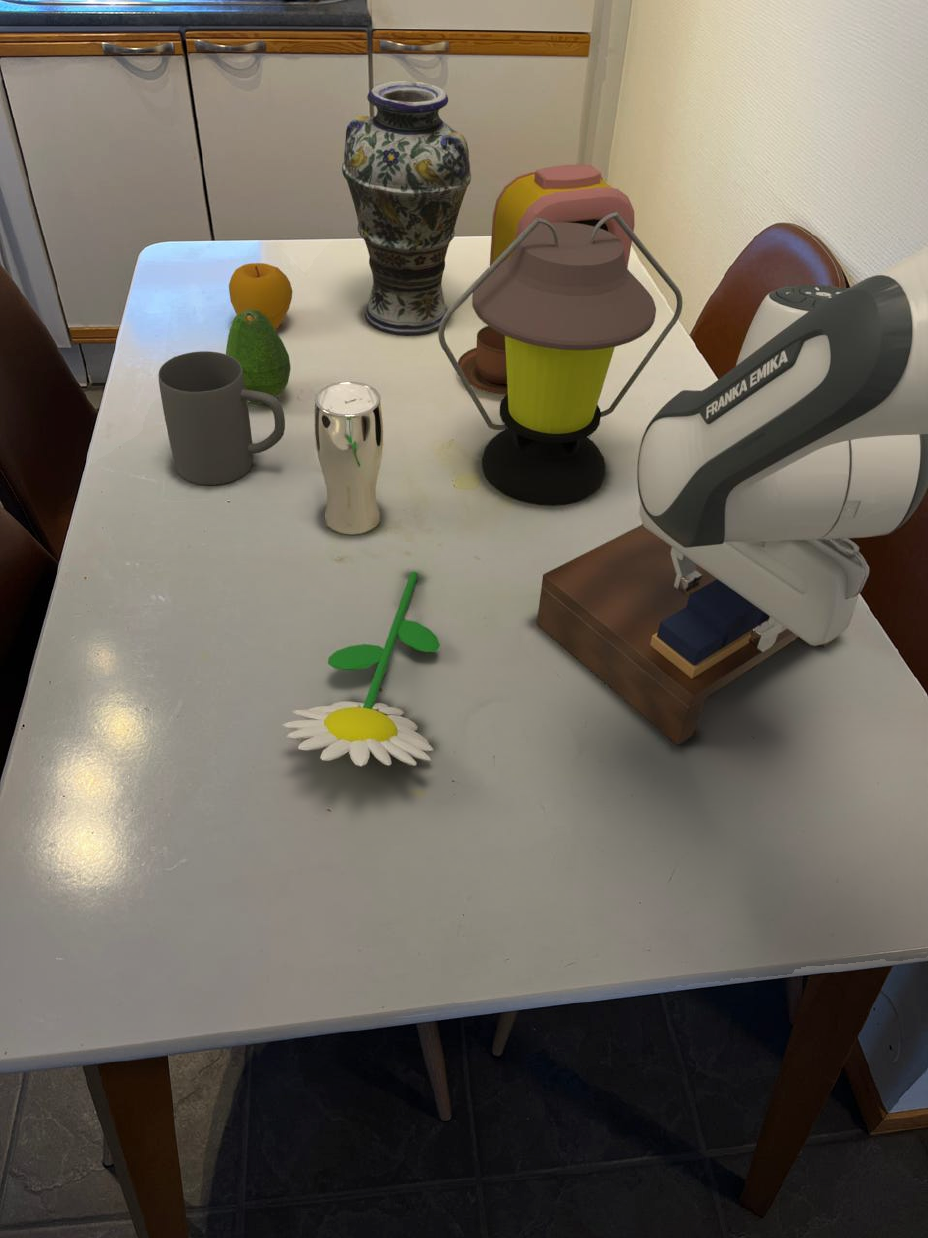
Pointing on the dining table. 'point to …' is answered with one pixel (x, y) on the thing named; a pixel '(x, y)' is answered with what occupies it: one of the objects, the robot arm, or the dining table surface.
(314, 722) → the decorative flower
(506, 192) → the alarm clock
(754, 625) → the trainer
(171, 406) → the mug
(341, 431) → the beer glass
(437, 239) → the vase
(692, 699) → the brown wooden stand
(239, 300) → the apple
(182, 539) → the dining table surface
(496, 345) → the cup and saucer
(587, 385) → the lantern
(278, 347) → the fruit
